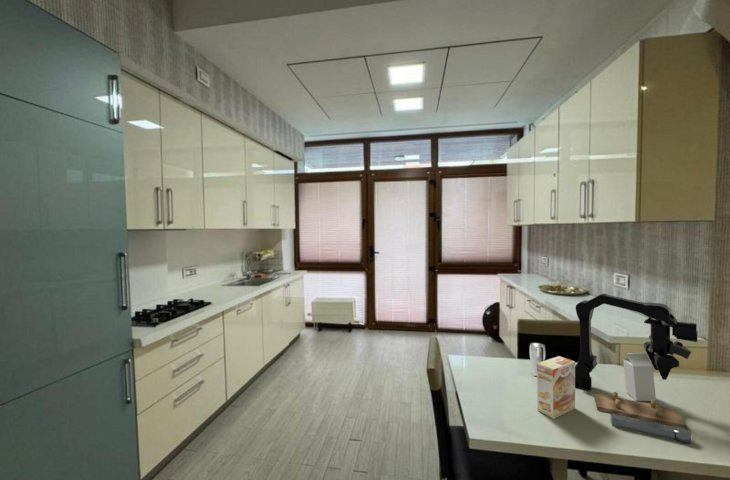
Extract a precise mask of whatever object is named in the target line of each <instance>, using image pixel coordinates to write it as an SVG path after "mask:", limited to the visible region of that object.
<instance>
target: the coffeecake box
mask: <svg viewBox="0 0 730 480" xmlns="http://www.w3.org/2000/svg"><path fill="white" fill-rule="evenodd" d="M575 365H576V361H574V360H572V359H569V358H566V357H563V356H561V355H558V356H556V357H555V356H554V357H552V358H548V359H545V361H543V362H540V363H537V377H536V378H537V379H536V382H537V390H536V391H537V392H536V393H537V396H536V398H537V409H536V410H537V411H538V412H539V413H542V414H544V415H545V416H548V417H549V418H551V419H553V420H554V419H556V418H558V417H561V416H562V415H565V414H566V413H568V412H570V411H572V410H574V409H576V388H575Z"/></svg>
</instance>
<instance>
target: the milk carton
mask: <svg viewBox="0 0 730 480" xmlns="http://www.w3.org/2000/svg"><path fill="white" fill-rule="evenodd" d="M622 361H623V362H622V363H623V371H624V380H625V391H626V393H627V394H628V395H629V396H630V397H631V398H632V399H633V400H634V401H638V402H642V401H643V402H646V401H647V402H648V401H649V402H651V399H654V400H656V401H657V398H656V397H657V396H656V386H655V373H654V367H653V365H652V363H651V361H650V359H649V357H648V355H647V353H646V352H632V353H631V352H630V353H626V357H624V358H623V359H622Z"/></svg>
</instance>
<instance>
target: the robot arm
mask: <svg viewBox="0 0 730 480" xmlns="http://www.w3.org/2000/svg"><path fill="white" fill-rule="evenodd" d="M602 305H608V306H613V307H615V308H616V307H617V308H620V309H623V310H628V311H633V312H637V313H640V314H641V315H644V316H646V317H647V318H646V319H645V320H644V321H643V323H644V324H648V325H650V335H648V338H649V340H650V341H646V342H644V343H643V348H644V351H645V353H646V355H647V357H648V359H649V360H650V362H651V364H652V365H653V370H655V371H658V373H659V375H660V377H661V378H662V380H664V381H667V379H668V376H669V374H670V373H671V370H673V369H674V368H678V367H680V360H679V359H677V358H676V357H675V356H674V355H678V356H679V357H682V358H684V359H686V360H688V359H689V358H690V355H692V351H691V350H690V349H689V348H687V347H686V346H684V344H683V343H682V342H680V341H678V340H682V341H687V342H694V343H698V338H699V337H698V335H699V334H698V333H699V332H698V328H697V325H698V324H697V323H695V322H684V321H678V319H677V318H676V317H675V316H674V315H673V313H671V309H670V308H669V306H668V305H667V304H664V303H661V302H643V301H636V300H632V299H629V298H623V297H619V296H615V295H609V294H606V293H601V294H599V295H597V296H596V297H593V298H591V299H589V300H588V299H586V300H582V301H579V303H577V304H576V305H575V312H576V316H577V318H578V320H579V344H580V346H579V347H580V351H579V356H578V358H577V363H575V389H581V390H587V391H591V389H592V379H593V378H592V377H591V374H590V373H592V372H593V370H595V368H596V367H597V366H598V362H597V359H598V356H597V355H594V353H593V351H592V350H593V349H592V347H593V346H592V318H593V315H594V312H595V311H594V310H595V309H596V308H597V307H600V306H602ZM671 329H672V331H671ZM671 333H672V335H671ZM671 336H673V337H674V338H675V339H676V341H674V342H673V341H672V340H671Z"/></svg>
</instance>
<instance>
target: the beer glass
mask: <svg viewBox="0 0 730 480" xmlns="http://www.w3.org/2000/svg"><path fill="white" fill-rule="evenodd" d="M545 347H546V346H545V344H542V343H539V342H531V343H530V344H529V358H530V364H531V368H530V369H531V370H530V374H531V375H532V376H533V377H536V378H537V363H540V362H543V361H546V348H545Z"/></svg>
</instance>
